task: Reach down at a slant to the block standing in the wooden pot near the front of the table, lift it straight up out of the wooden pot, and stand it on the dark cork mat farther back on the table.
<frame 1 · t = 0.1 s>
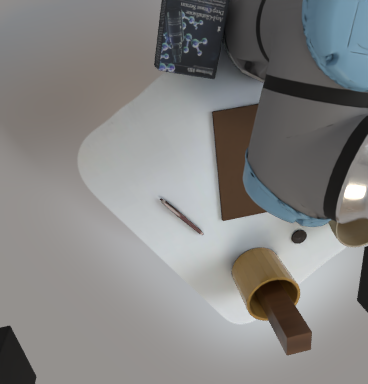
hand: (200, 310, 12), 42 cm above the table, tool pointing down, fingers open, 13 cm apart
mat: (262, 161, 57), on the table
block: (256, 269, 67), resting on wooden pot
bowl: (338, 203, 64), on the table
pen: (182, 216, 59), on the table
coin: (298, 236, 66), on the table
wooden pot: (255, 268, 67), on the table
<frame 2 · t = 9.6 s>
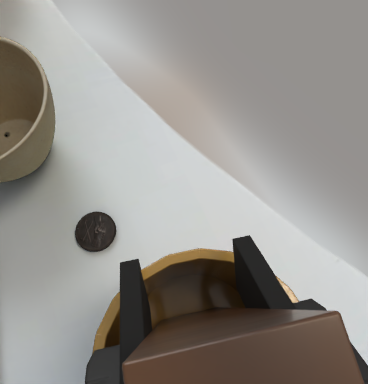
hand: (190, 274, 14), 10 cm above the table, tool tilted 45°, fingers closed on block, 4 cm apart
block: (195, 344, 22), point 1 cm above the table, touching gripper, wooden pot
bowl: (17, 150, 27), on the table
coin: (96, 232, 25), on the table
wooden pot: (195, 343, 23), on the table
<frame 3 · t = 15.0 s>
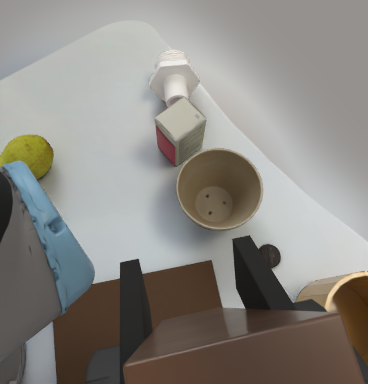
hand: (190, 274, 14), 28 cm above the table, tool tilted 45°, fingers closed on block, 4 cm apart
mat: (143, 345, 39), on the table
pipe fitting: (177, 104, 45), point 4 cm above the table
block: (196, 344, 22), point 18 cm above the table, touching gripper
bowl: (212, 205, 45), on the table
small box: (179, 147, 48), on the table
coin: (268, 256, 43), on the table
wooden pot: (333, 321, 40), on the table
fruit: (50, 143, 44), point 3 cm above the table
when the fingers open (10 cm above the table, at t = 20.4 s): block stays where it is, resting on mat.
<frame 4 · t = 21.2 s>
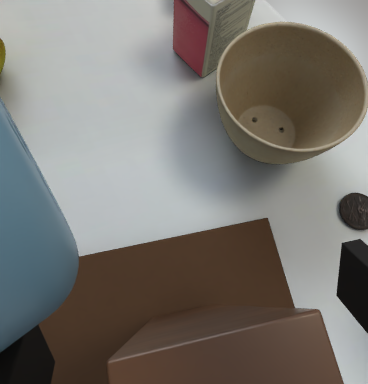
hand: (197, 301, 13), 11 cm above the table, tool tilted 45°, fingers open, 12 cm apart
mat: (159, 361, 22), on the table
block: (186, 341, 22), resting on mat
bowl: (262, 135, 28), on the table
small box: (206, 52, 31), on the table
coin: (356, 212, 26), on the table
fruit: (0, 31, 27), point 3 cm above the table
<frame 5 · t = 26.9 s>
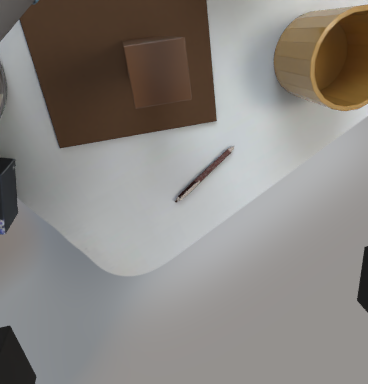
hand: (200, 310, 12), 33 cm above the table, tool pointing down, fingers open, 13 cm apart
mat: (127, 67, 39), on the table
block: (143, 57, 38), resting on mat
pen: (203, 173, 46), on the table
wooden pot: (311, 56, 42), on the table
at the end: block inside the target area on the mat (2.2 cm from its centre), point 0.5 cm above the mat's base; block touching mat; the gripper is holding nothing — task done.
